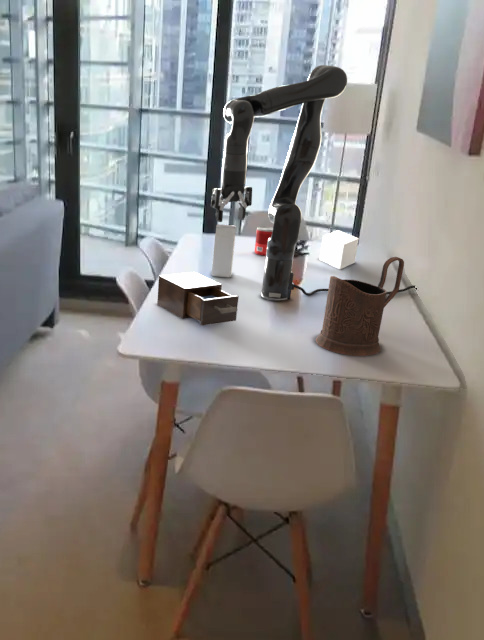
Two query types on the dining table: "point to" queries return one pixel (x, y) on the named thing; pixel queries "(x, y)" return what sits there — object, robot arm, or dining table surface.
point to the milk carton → (223, 250)
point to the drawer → (211, 306)
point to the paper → (339, 249)
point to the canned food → (262, 239)
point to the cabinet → (181, 290)
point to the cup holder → (356, 314)
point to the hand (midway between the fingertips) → (230, 220)
